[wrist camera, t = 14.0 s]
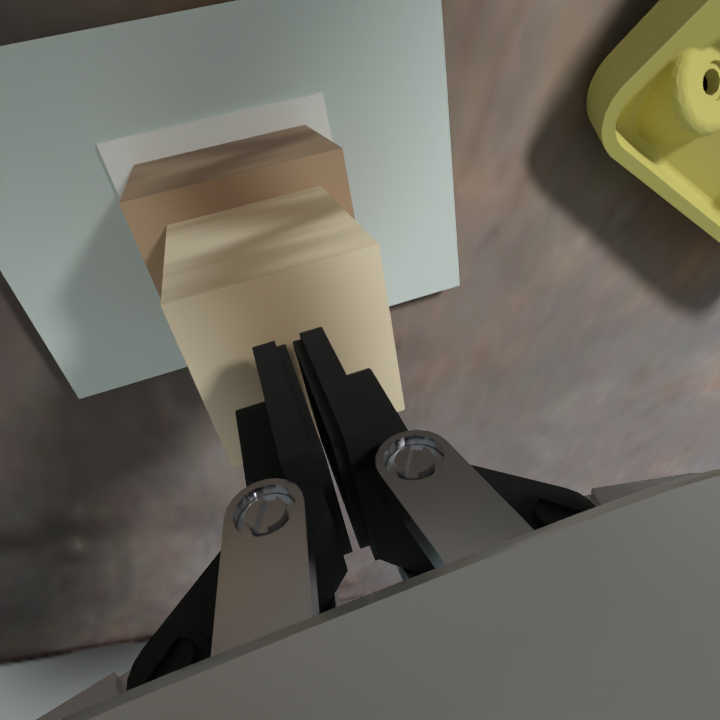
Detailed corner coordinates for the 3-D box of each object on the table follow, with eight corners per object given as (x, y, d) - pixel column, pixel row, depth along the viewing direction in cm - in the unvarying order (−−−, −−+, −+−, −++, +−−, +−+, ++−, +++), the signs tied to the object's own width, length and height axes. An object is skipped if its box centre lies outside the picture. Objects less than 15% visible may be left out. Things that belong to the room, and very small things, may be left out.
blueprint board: (428, -36, 21) (440, -40, 20) (451, 278, 28) (461, 286, 27) (-109, 68, 18) (-127, 70, 17) (82, 387, 25) (78, 401, 24)
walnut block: (304, 124, 21) (342, 148, 16) (337, 277, 25) (375, 333, 20) (133, 164, 20) (118, 203, 15) (195, 318, 24) (199, 387, 19)
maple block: (320, 185, 17) (379, 243, 12) (348, 317, 19) (405, 409, 14) (166, 225, 16) (160, 305, 11) (218, 356, 19) (231, 467, 14)
